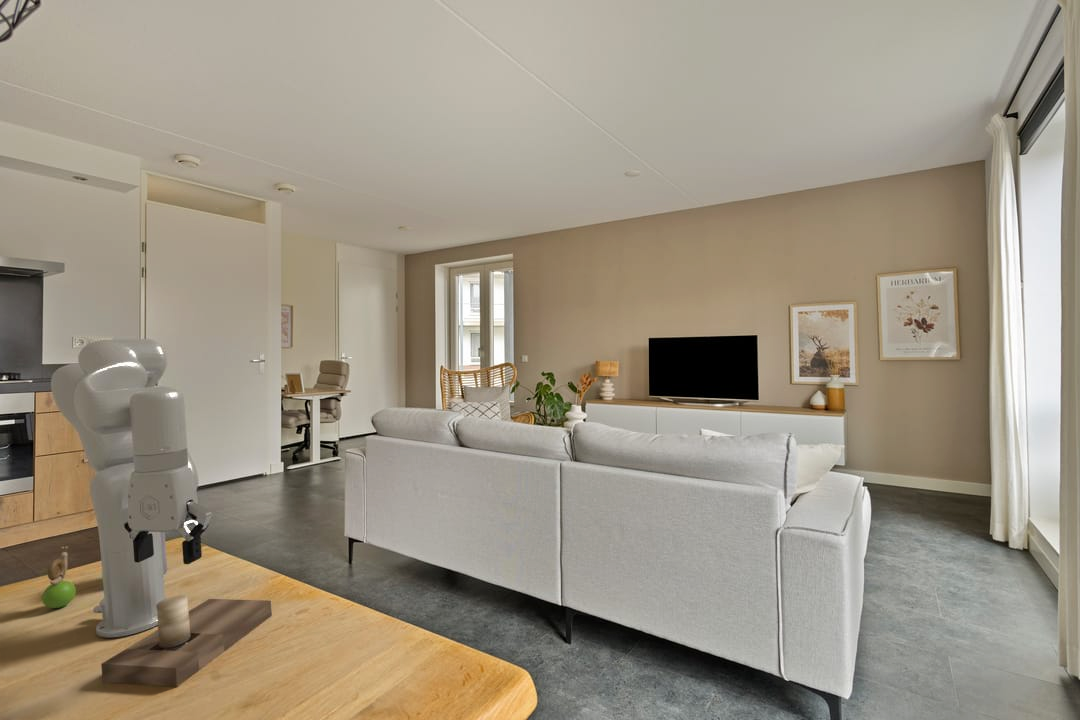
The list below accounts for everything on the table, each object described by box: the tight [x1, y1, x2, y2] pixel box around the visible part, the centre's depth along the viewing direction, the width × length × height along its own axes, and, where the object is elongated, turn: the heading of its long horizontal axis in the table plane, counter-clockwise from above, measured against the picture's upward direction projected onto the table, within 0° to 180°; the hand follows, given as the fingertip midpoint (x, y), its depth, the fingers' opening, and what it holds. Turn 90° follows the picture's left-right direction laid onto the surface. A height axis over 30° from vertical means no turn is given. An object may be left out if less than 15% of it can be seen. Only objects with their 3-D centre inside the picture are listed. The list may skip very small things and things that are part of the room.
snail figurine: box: [41, 546, 77, 609], centre depth 115 cm, size 5×6×12 cm
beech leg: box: [156, 595, 191, 651], centre depth 91 cm, size 4×4×10 cm
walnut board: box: [100, 598, 273, 688], centre depth 95 cm, size 14×22×3 cm, turn 170°
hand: (168, 560), depth 91 cm, fingers open, 9 cm apart
